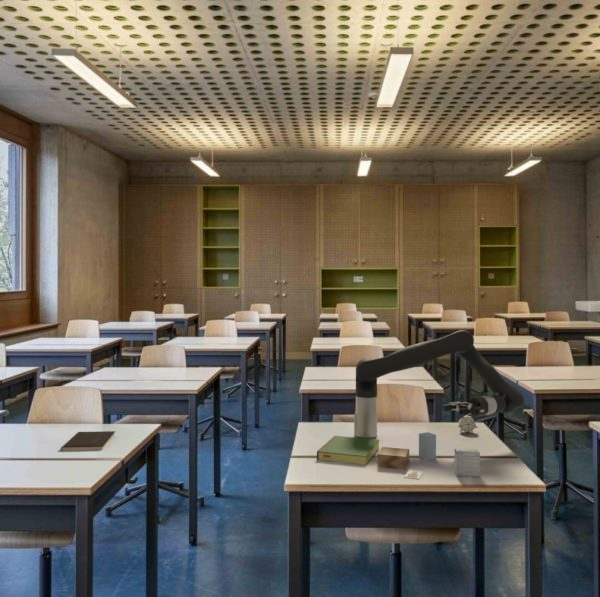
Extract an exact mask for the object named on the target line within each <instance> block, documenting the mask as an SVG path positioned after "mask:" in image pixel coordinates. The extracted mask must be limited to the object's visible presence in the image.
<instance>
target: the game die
mask: <svg viewBox="0 0 600 597" xmlns="http://www.w3.org/2000/svg"><path fill="white" fill-rule="evenodd" d="M474 417H475V416H472V415H468V414H466V415H461V418H459V419H456V421H457V422H458V428H460V431H459V432H462V431H463V432H466V433H467V435H469V433H470V432H471V433H473V430H474V429H476V428H477V429H478V428H479V427H478V426H477V424H476V420H475V419H474Z"/></svg>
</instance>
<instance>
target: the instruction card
mask: <svg viewBox="0 0 600 597" xmlns="http://www.w3.org/2000/svg"><path fill="white" fill-rule="evenodd" d="M423 473H424V471H422V470H420V471H419V470H411V469H408V470H407V472H406V474H405V475H404V478H406V479H407V478H408V479H413V480H420V479H421V476H422V475H423Z"/></svg>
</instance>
